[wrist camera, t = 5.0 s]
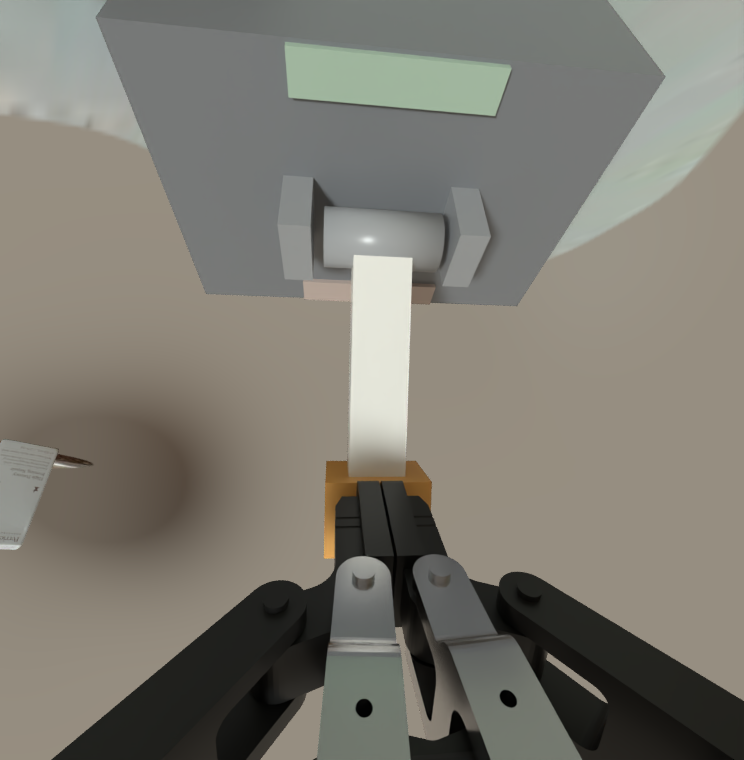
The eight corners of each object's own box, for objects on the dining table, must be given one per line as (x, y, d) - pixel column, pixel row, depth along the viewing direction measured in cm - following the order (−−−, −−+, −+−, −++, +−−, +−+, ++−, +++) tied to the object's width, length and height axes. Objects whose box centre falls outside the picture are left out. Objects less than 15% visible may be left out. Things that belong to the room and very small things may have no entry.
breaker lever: (325, 219, 15) (320, 524, 16) (324, 192, 12) (318, 558, 13) (429, 225, 15) (418, 522, 16) (448, 201, 13) (434, 555, 14)
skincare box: (60, 447, 52) (25, 546, 46) (53, 456, 55) (18, 550, 49) (-1, 437, 48) (-48, 543, 43) (-5, 446, 51) (-50, 547, 45)
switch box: (225, 207, 21) (196, 336, 17) (153, -67, 12) (61, 66, 8) (495, 223, 23) (527, 346, 19) (599, -10, 14) (702, 125, 10)
